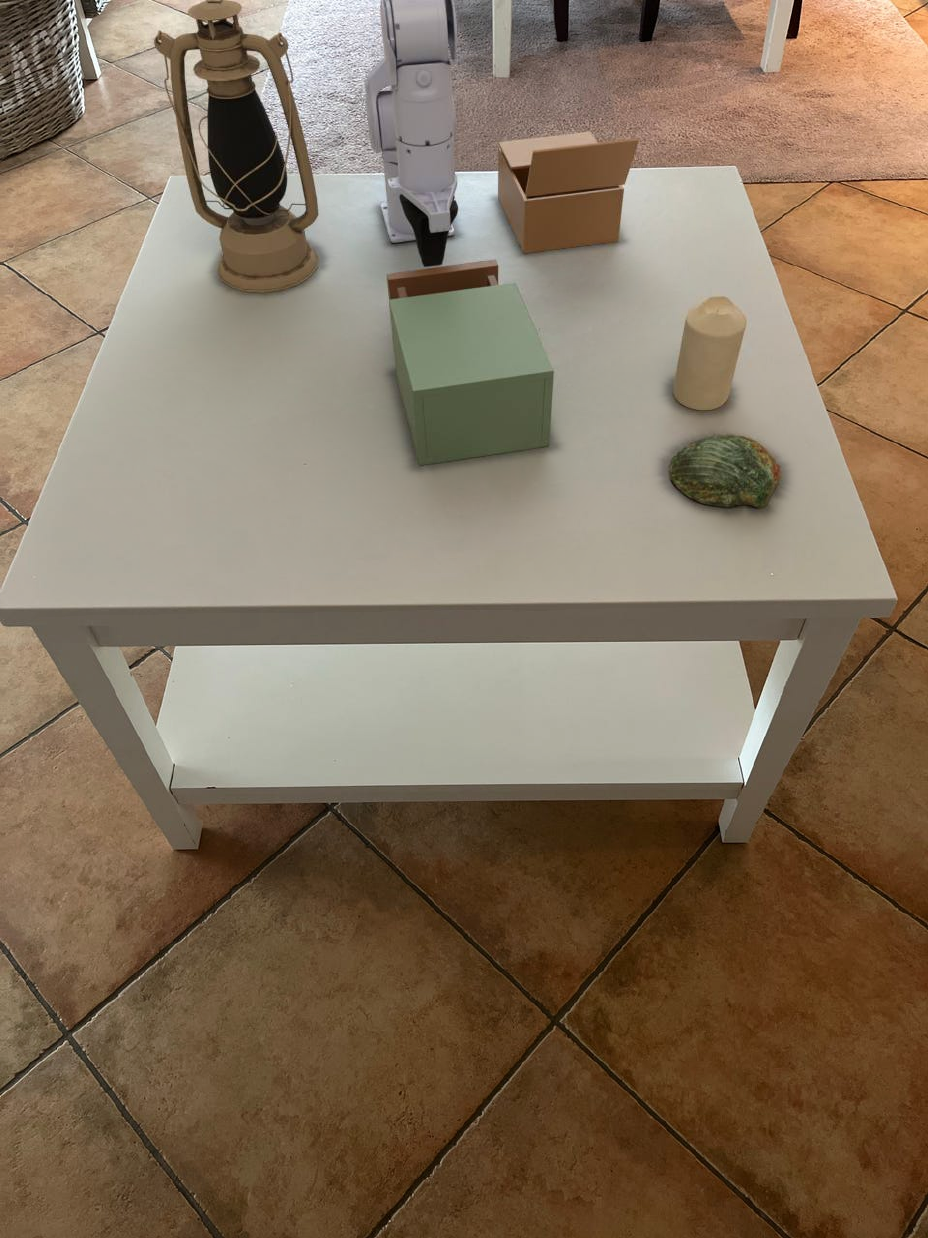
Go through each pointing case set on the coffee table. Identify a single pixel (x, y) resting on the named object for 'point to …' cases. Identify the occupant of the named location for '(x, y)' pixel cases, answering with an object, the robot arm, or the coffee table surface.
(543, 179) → the flap
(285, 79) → the lantern
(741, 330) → the candle
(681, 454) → the seashell
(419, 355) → the cabinet
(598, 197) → the carton
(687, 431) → the coffee table surface
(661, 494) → the coffee table surface
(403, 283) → the drawer
